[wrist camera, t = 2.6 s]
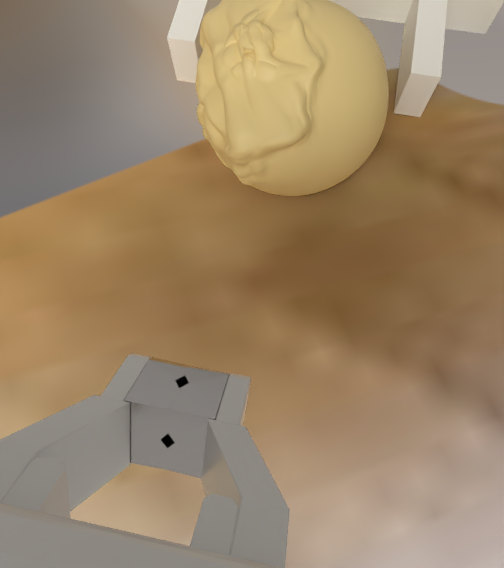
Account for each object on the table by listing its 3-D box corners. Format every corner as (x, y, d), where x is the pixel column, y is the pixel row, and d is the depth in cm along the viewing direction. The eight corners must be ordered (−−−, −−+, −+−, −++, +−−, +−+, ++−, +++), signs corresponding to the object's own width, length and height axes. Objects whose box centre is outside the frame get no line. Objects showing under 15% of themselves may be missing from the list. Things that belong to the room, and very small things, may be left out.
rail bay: (486, 15, 36) (534, -72, 30) (480, 126, 33) (534, 54, 26) (158, -28, 38) (138, -119, 32) (122, 72, 35) (92, -7, 29)
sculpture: (193, 101, 34) (165, -39, 24) (342, 72, 35) (377, -76, 24) (222, 233, 31) (203, 136, 20) (387, 198, 31) (450, 88, 21)
